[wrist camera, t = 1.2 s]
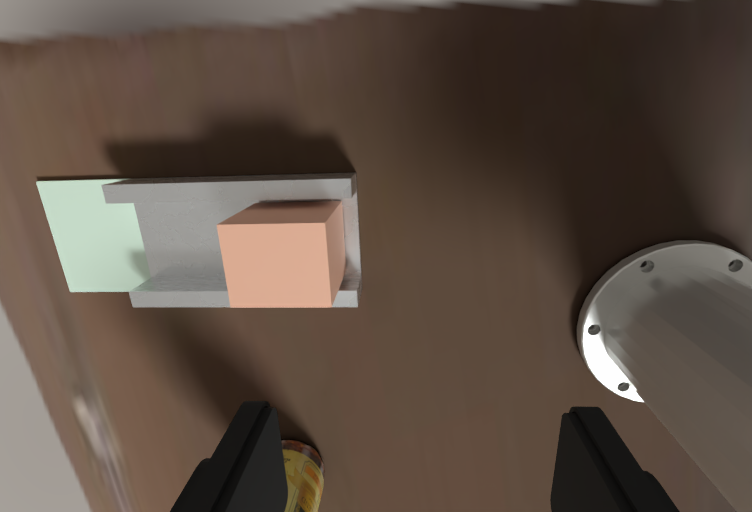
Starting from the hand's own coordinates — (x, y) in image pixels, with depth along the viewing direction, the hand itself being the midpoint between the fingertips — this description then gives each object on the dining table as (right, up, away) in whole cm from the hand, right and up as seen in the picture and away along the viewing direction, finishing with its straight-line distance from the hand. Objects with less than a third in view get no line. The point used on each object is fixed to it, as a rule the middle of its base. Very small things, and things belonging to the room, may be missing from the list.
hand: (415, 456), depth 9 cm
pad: (-22, +6, +20) cm, 30 cm away
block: (-6, +6, +18) cm, 20 cm away
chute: (-10, +6, +19) cm, 23 cm away
